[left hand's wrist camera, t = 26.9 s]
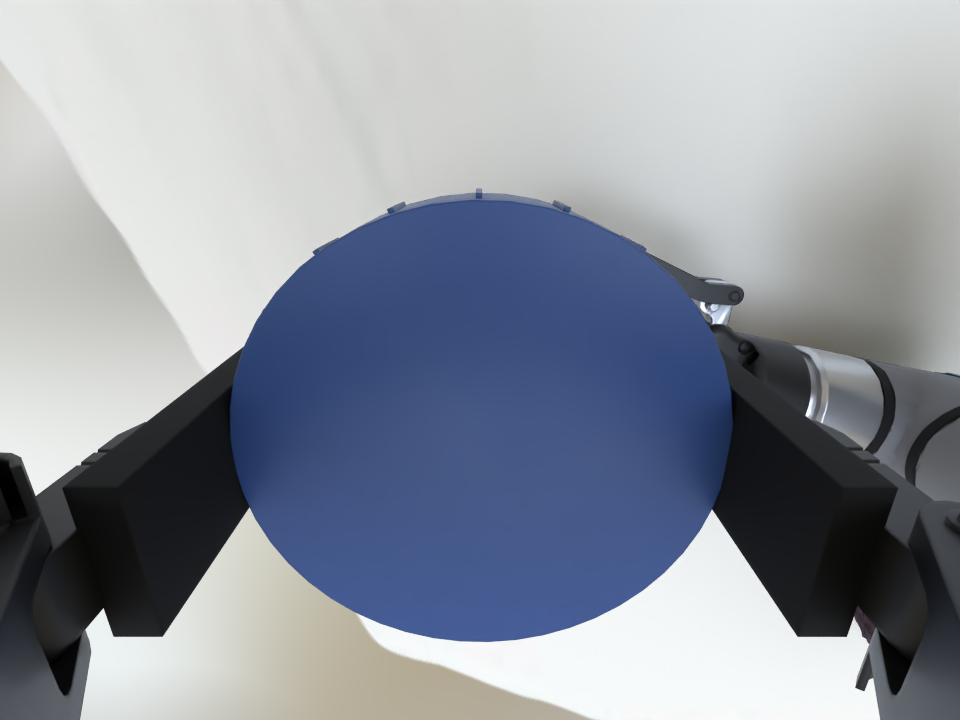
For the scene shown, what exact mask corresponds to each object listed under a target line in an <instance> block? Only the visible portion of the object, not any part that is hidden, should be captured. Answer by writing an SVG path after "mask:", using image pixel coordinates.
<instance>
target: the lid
mask: <svg viewBox="0 0 960 720" xmlns="http://www.w3.org/2000/svg"><path fill="white" fill-rule="evenodd" d="M570 210H571V207H569V206H566V205H564V204H562V203H560V202H558V201H555V200H554V202H553V205H552V204H549V203H546V202H543V201H540V200H537V199H531V198H525V197H519V196H514V195H508V194H490V193H482V189H476V193H467V194H458V195H448V196H440V197H436V198H432V199H428V200H424V201H420V202H416V203H412V204H409V205H405V202H401V203H399V204H397V205H395V206H393V207H391V208H389V209H387V211H388V213H386V214H384V215H381V216H379V217H377V218H375V219H373V220H372V221H370V222H368V223H366V224H364V225H362V226H360V227H358V228H357V229H355V230H353V231H351V232H350V233H348V234H346V235H344V236H343V237H341V238H336V239H334V240H333V241H331V242H329V243H327V244H325V245H323V246H321V247H319V248H317V249H316V250H314V251H313V253H314V255H315V256H313V257H312V258H311V259H309V260H308V261H307V262H306V263H304V264H303V265H302V266H301V267H299V268H298V269H297V270H296V272H295V273H294V274H293V275H292V276H291V277H290V278H289V279H288V280H287V281H286V282H285V283H284V284H283V285H282V286H281V288H280V289H279V290H278V291H277V292H276V293H275V294H274V296H273V297H272V299H271V300H270V302H269V303H268V305H267V306H266V307H265V309H263V311H262V313H261V315H260V316H259V318H258V319H257V321H256V323H255V325H254V327H253V329H252V331H251V333H250V335H249V337H248V339H247V342H246V344H245V346H244V348H243V350H242V354H241V357H240V360H239V364H238V367H237V370H236V373H235V377H234V382H233V389H232V396H231V403H230V441H231V447H232V452H233V457H234V463H235V468H236V472H237V475H238V478H239V482H240V485H241V488H242V491H243V494H244V496H245V498H246V500H247V502H248V505H249V507H250V509H251V511H252V513H253V515H254V517H255V519H256V521H257V522H258V524H259V525H260V527H261V528H262V530H263V531H264V533H265V534H266V536H267V538H268V539H269V541H270V542H271V543H272V545H273V546H274V547H275V548H276V549H277V550H278V552H279V553H280V554H281V555H282V556H283V557H284V559H285V560H286V561H287V562H288V563H289V564H290V565H291V566H292V567H293V568H294V569H295V570H296V571H297V572H298V573H299V574H301V575H302V576H303V577H304V578H305V579H306V580H307V581H308V582H309V583H311V584H312V585H313V586H315V587H316V588H317V589H319V590H320V591H322V592H323V593H324V594H326V595H327V596H328V597H330V598H331V599H333V600H335V601H336V602H338V603H340V604H341V605H343V606H345V607H347V608H348V609H350V610H352V611H354V612H355V613H358V614H360V615H362V616H364V617H367V618H369V619H371V620H373V621H376V622H378V623H380V624H383V625H386V626H389V627H393V628H396V629H399V630H402V631H405V632H409V633H413V634H418V635H422V636H427V637H431V638H438V639H446V640H454V641H471V642H494V641H507V640H518V639H524V638H530V637H535V636H541V635H546V634H549V633H553V632H556V631H560V630H564V629H567V628H571V627H573V626H576V625H578V624H581V623H584V622H586V621H589V620H591V619H594V618H596V617H598V616H600V615H602V614H604V613H606V612H608V611H610V610H612V609H614V608H616V607H618V606H620V605H621V604H623V603H624V602H626V601H627V600H629V599H630V598H632V597H634V596H635V595H637V594H638V593H640V592H641V591H643V590H644V589H645V588H646V587H648V586H649V585H650V584H651V583H652V582H654V581H655V580H656V579H657V578H658V577H660V576H661V575H662V574H663V573H665V571H666V570H667V569H668V568H669V567H670V566H671V565H672V564H673V563H674V562H675V561H676V560H677V559H678V558H679V557H680V556H681V555H682V554H683V553H684V551H685V550H686V549H687V547H688V546H689V545H690V543H691V542H692V541H693V539H694V538H695V536H696V535H697V534H698V532H699V531H700V530H701V528H702V526H703V524H704V522H705V521H706V519H707V517H708V515H709V513H710V512H711V510H712V508H713V506H714V504H715V501H716V499H717V496H718V494H719V491H720V489H721V485H722V481H723V476H724V471H725V466H726V461H727V456H728V451H729V446H730V441H731V435H732V429H733V414H732V399H731V390H730V386H729V381H728V377H727V372H726V368H725V363H724V360H723V358H722V355H721V353H720V350H719V348H718V345H717V343H716V340H715V338H714V335H713V333H712V331H711V329H710V328H709V326H708V324H707V323H706V321H705V319H704V317H703V316H702V314H701V312H700V311H699V309H698V307H697V305H696V304H695V303H694V302H693V301H692V299H691V298H690V297H689V296H688V294H687V293H686V292H685V291H684V289H683V288H682V287H681V286H680V284H679V283H678V282H677V281H676V280H675V279H674V278H673V277H672V276H671V275H670V274H669V273H668V272H667V271H666V270H665V269H663V268H662V267H661V266H660V265H659V264H658V263H657V262H656V261H655V260H654V259H653V258H651V257H650V256H649V255H648V254H646V253H645V251H646V248H644V247H643V246H641V245H640V244H638V243H636V242H634V241H632V240H630V239H628V238H626V237H624V236H622V235H621V236H620V235H618V234H616V233H614V232H612V231H610V230H608V229H606V228H604V227H602V226H600V225H598V224H596V223H594V222H592V221H590V220H588V219H586V218H584V217H582V216H580V215H578V214H576V213H574V212H572V211H570Z"/></svg>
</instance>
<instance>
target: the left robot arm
mask: <svg viewBox="0 0 960 720" xmlns="http://www.w3.org/2000/svg"><path fill="white" fill-rule="evenodd" d="M243 348H244V347H243ZM243 348H241V349H240V350H239V351H238V352H236V353H235V354H234V355H232V356H231V357H230V358H229V359H227V360H226V361H225V362H223V363H222V364H221V365H220V366H218V367H217V368H216V369H214V370H213V371H212V372H211V373H209V374H208V375H207V376H205V377H204V378H203V379H202V380H200V381H199V382H198V383H196V384H195V385H194V386H192V387H191V388H190V389H189V390H187V391H186V392H185V393H183V394H182V395H181V396H180V397H178V398H177V399H176V400H174V401H173V402H172V403H171V404H169V405H168V406H167V407H165V408H164V409H163V410H162V411H160V412H159V413H158V414H156V415H155V416H154V417H153V418H151V419H150V420H149V421H147V422H144V423H142V424H140V425H138V426H136V427H134V428H131V429H129V430H127V431H125V432H123V433H121V434H119V435H117V436H116V437H114V438H113V439H112V440H110V441H109V442H108V443H106V444H105V445H104V446H102V447H101V448H100V449H98V453H93V454H92V455H90V456H89V457H88V458H86V459H85V460H84V461H82V462H81V466H76V467H74V468H73V469H72V470H70V471H69V472H68V473H66V474H65V475H64V476H62V477H61V478H60V479H58V480H57V481H55V482H54V483H53V484H52V485H50V486H49V487H48V488H46V489H45V490H43V491H42V492H41V493H40V494H38V495H37V496H35V494H34V491H33V488H32V486H31V483H30V480H29V477H28V475H27V472H26V469H25V467H24V464H23V461H22V459H21V457H19V456H17V455H15V454H12V453H0V720H80V716H81V710H82V704H83V698H84V692H85V686H86V680H87V674H88V668H89V662H90V656H91V648H90V642H89V639H88V636H87V633H86V631H85V629H86V628H87V627H88V626H89V624H90V623H91V622H92V621H93V620H94V618H95V617H96V616H97V615H98V614H99V613H100V611H101V610H102V609H103V608H104V610H105V613H106V616H107V619H108V622H109V625H110V628H111V631H112V633H113V636H114V637H163V635H164V634H165V632H166V631H167V629H168V628H169V626H170V625H171V623H172V622H173V620H174V619H175V617H176V616H177V614H178V613H179V612H180V610H181V608H182V607H183V605H184V604H185V603H186V601H187V600H188V598H189V597H190V595H191V594H192V592H193V591H194V589H195V588H196V586H197V585H198V583H199V582H200V580H201V579H202V577H203V576H204V574H205V573H206V571H207V570H208V568H209V567H210V565H211V564H212V562H213V561H214V559H215V558H216V556H217V555H218V553H219V552H220V550H221V549H222V547H223V546H224V544H225V543H226V541H227V540H228V538H229V537H230V535H231V534H232V532H233V531H234V529H235V528H236V526H237V525H238V524H239V522H240V520H241V519H242V518H243V516H244V515H245V513H246V512H247V510H248V509H249V505H248V502H247V500H246V498H245V496H244V494H243V491H242V488H241V485H240V482H239V478H238V475H237V472H236V468H235V463H234V457H233V452H232V447H231V441H230V403H231V396H232V389H233V382H234V377H235V373H236V370H237V367H238V364H239V360H240V357H241V354H242V350H243ZM719 350H720V349H719ZM720 353H721V355H722V358H723V360H724V363H725V368H726V372H727V377H728V381H729V386H730V390H731V399H732V414H733V429H732V435H731V441H730V446H729V451H728V456H727V461H726V466H725V471H724V476H723V481H722V485H721V489H720V491H719V494H718V496H717V499H716V501H715V504H714V506H713V508H712V510H713V511H714V513H715V514H716V516H717V517H718V519H719V520H720V522H721V523H722V525H723V526H724V527H725V529H726V530H727V532H728V533H729V535H730V536H731V538H732V539H733V541H734V542H735V544H736V545H737V547H738V548H739V550H740V551H741V553H742V554H743V556H744V557H745V559H746V560H747V562H748V563H749V565H750V566H751V568H752V569H753V571H754V572H755V574H756V575H757V577H758V578H759V580H760V581H761V583H762V584H763V586H764V587H765V589H766V590H767V592H768V593H769V595H770V596H771V598H772V599H773V601H774V602H775V604H776V605H777V607H778V608H779V610H780V611H781V612H782V614H783V615H784V617H785V618H786V620H787V621H788V623H789V624H790V626H791V627H792V629H793V630H794V632H795V633H796V635H797V636H798V637H847V635H848V632H849V629H850V626H851V623H852V620H853V617H854V615H855V612H856V609H857V606H858V607H859V608H860V609H861V610H862V612H863V613H864V614H865V615H866V616H867V617H868V619H869V620H870V621H871V622H872V623H873V624H874V626H875V627H876V628H875V631H874V633H873V636H872V639H871V641H870V644H869V647H868V649H867V652H866V655H865V657H864V660H863V663H862V666H861V668H860V671H859V674H858V676H857V681H856V687H855V688H857V689H860V690H862V691H865V688H866V685H867V683H868V680H869V679H871V678H874V684H875V690H876V696H877V702H878V708H879V714H880V720H960V503H959V502H953V501H947V500H945V501H934V500H933V499H931V498H930V497H929V496H927V495H926V494H925V493H923V492H922V491H921V490H919V489H918V488H917V487H915V486H914V485H913V484H911V483H910V482H908V481H907V480H906V479H904V478H903V477H902V476H900V475H899V474H898V473H896V472H895V471H894V470H892V469H891V468H890V467H888V466H887V465H886V464H880V460H879V459H878V458H876V457H875V456H873V455H872V454H871V453H869V452H868V451H863V447H861V446H860V445H859V444H857V443H856V442H855V441H853V440H852V439H851V438H849V437H848V436H847V435H845V434H844V433H842V432H840V431H838V430H836V429H833V428H831V427H829V426H827V425H825V424H823V423H821V422H818V421H816V420H810V419H809V418H808V417H807V416H805V415H804V414H803V413H801V412H800V411H799V410H798V409H796V408H795V407H794V406H792V405H791V404H790V403H789V402H787V401H786V400H785V399H783V398H782V397H781V396H779V395H778V394H777V393H776V392H774V391H773V390H772V389H770V388H769V387H768V386H767V385H765V384H764V383H763V382H761V381H760V380H759V379H758V378H756V377H755V376H754V375H752V374H751V373H750V372H749V371H747V370H746V369H745V368H743V367H742V366H741V365H740V364H738V363H737V362H736V361H734V360H733V359H732V358H730V357H729V356H728V355H727V354H725V353H724V352H723V351H721V350H720Z"/></svg>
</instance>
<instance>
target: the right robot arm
mask: <svg viewBox="0 0 960 720" xmlns="http://www.w3.org/2000/svg"><path fill="white" fill-rule="evenodd" d="M645 253H646V254H648V255H649V256H650V257H651V258H653V259H654V260H655V261H656V262H657V263H658V264H659V265H660V266H661V267H662V268H663V269H665V270H666V271H667V272H668V273H669V274H670V275H671V276H672V277H673V278H674V279H675V280H676V281H677V282H678V283H679V284H680V286H681V287H682V288H683V289H684V291H685V292H686V293H687V294H688V296H689V297H690V298H693V299H695V304H696V305H697V307H698V309H699V310H701V311H702V312H704V313H706V316H707V320H705V321H706V323H707V324H708V326H709V328H710V329H711V331H712V333H713V335H714V338H715V340H716V343H717V345H718V348H719V349H720V350H721V351H723V352H724V353H725V354H727V355H728V356H729V357H730V358H732V359H733V360H734V361H736V362H737V363H738V364H740V365H741V366H742V367H743V368H745V369H746V370H747V371H749V372H750V373H751V374H752V375H754V376H755V377H756V378H758V379H759V380H760V381H761V382H763V383H764V384H765V385H767V386H768V387H769V388H770V389H772V390H773V391H774V392H776V393H777V394H778V395H779V396H781V397H782V398H783V399H785V400H786V401H787V402H789V403H790V404H791V405H792V406H794V407H795V408H796V409H798V410H799V411H800V412H801V413H803V414H804V415H805V416H807V417H808V418H809V419H810V420H816V421H818V422H821V423H823V424H825V425H827V426H829V427H831V428H833V429H836V430H838V431H840V432H842V433H844V434H845V435H847V436H848V437H849V438H851V439H852V440H853V441H855V442H856V443H857V444H859V445H860V446H861V447H863V451H868V452H869V453H871V454H872V455H873V456H875V457H876V458H878V459H879V460H880V464H886V465H887V466H888V467H890V468H891V469H892V470H894V471H895V472H896V473H898V474H899V475H900V476H902V477H903V478H904V479H906V480H907V481H908V482H910V483H911V484H913V485H914V486H915V487H917V488H918V489H919V490H921V491H922V492H923V493H925V494H926V495H927V496H929V497H930V498H931V499H933V500H934V501H945V500H947V501H953V502H959V503H960V375H957V374H952V373H937V372H930V371H924V370H919V369H914V368H909V367H903V366H898V365H893V364H888V363H883V362H878V361H872V360H867V359H862V358H858V357H853V356H848V355H843V354H838V353H834V352H829V351H824V350H820V349H815V348H810V347H806V346H801V345H800V346H793V345H791V344H789V343H786V342H782V341H777V340H772V339H767V338H762V337H757V336H752V335H747V334H742V333H737V332H734V331H732V330H731V328H729V327H728V326H727V325H728V321H729V317H730V313H731V309H732V306H733V305H737V304H739V303H740V302H741V301H742V299H743V297H744V292H743V290H742V289H741V288H740V287H738V286H736V285H733V284H731V283H729V282H726V281H724V280H721V279H715V278H704V277H695V276H693V275H691V274H689V273H687V272H685V271H683V270H681V269H679V268H677V267H675V266H673V265H671V264H669V263H667V262H665V261H663V260H661V259H659V258H657V257H655V256H653V255H651V254H649V253H647V252H645Z"/></svg>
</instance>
